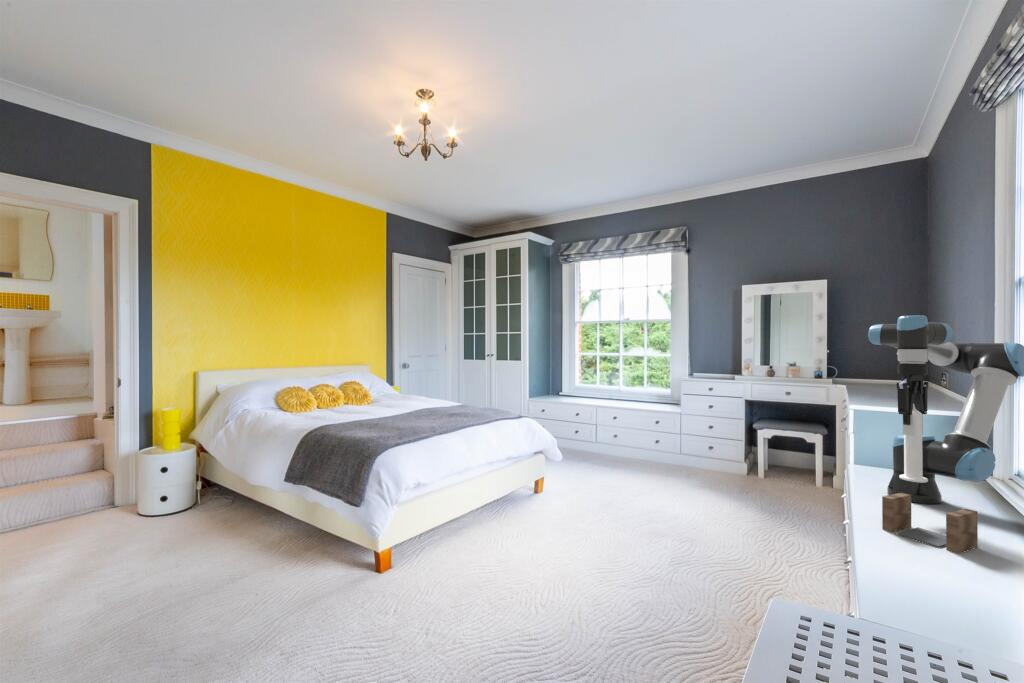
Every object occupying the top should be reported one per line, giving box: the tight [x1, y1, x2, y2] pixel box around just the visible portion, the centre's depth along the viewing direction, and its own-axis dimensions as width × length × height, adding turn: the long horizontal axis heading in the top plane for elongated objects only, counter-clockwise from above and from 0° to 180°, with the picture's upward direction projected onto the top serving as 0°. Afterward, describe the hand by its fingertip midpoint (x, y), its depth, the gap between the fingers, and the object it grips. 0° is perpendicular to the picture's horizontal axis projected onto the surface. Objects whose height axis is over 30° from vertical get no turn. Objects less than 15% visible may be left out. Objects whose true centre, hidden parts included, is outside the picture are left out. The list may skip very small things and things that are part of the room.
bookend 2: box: [945, 508, 979, 554], centre depth 127 cm, size 10×2×10 cm, turn 113°
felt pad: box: [896, 527, 946, 549], centre depth 134 cm, size 11×10×1 cm
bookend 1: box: [881, 493, 912, 533], centre depth 142 cm, size 10×2×10 cm, turn 113°
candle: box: [899, 403, 928, 483], centre depth 151 cm, size 7×7×25 cm
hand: (913, 434), depth 151 cm, fingers closed on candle, 4 cm apart
